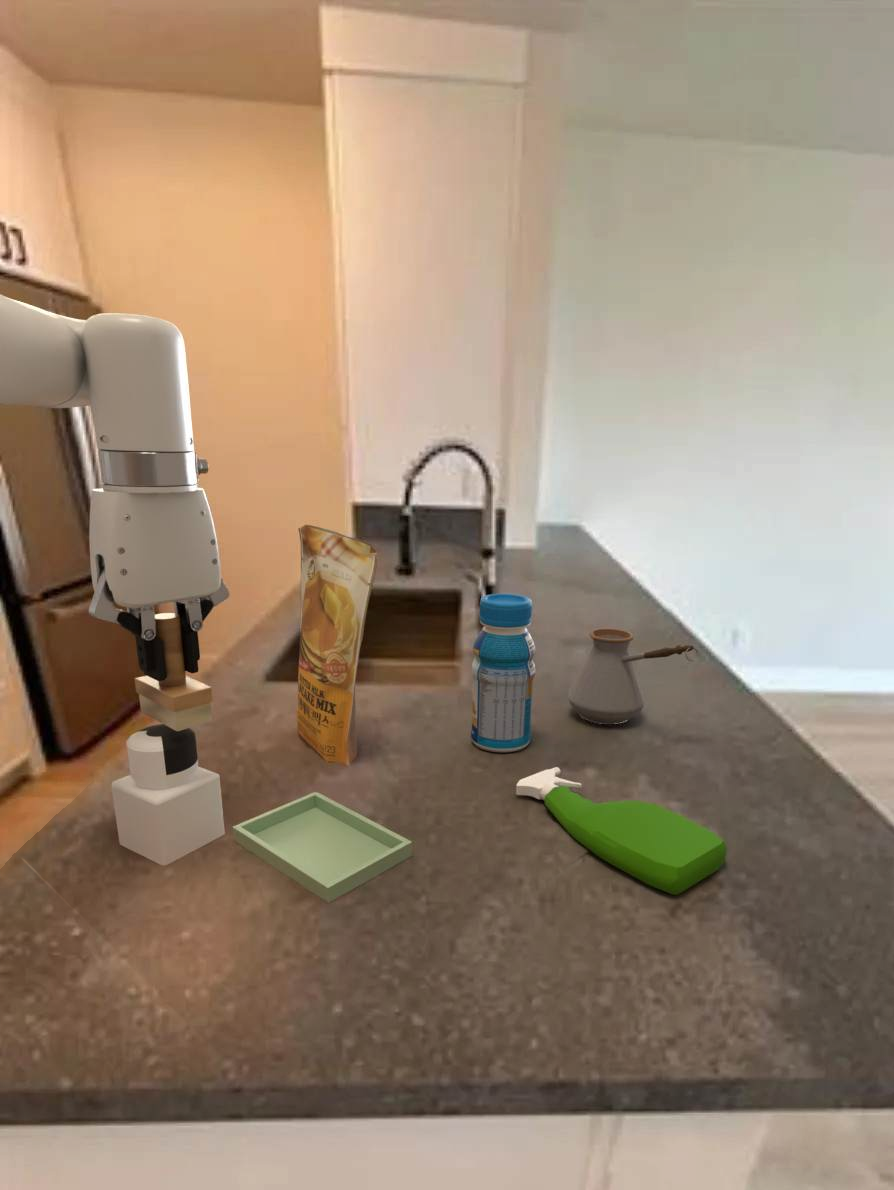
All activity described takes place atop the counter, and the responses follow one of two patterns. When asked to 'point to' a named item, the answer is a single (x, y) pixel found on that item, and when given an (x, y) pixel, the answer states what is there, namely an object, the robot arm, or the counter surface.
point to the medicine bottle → (166, 796)
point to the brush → (174, 684)
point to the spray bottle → (632, 834)
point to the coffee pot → (612, 678)
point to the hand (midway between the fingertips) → (171, 671)
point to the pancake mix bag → (331, 638)
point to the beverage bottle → (503, 674)
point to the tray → (322, 845)
